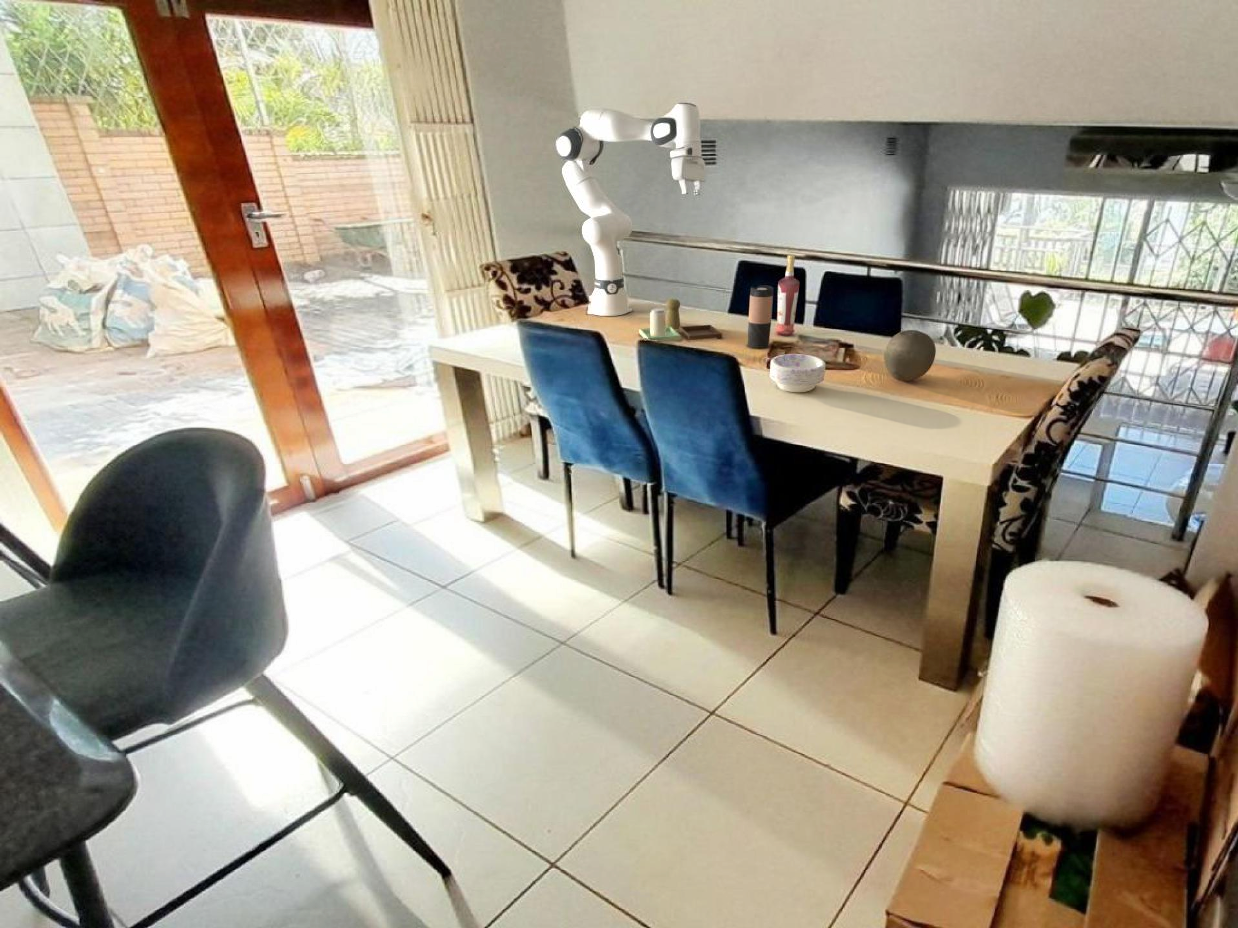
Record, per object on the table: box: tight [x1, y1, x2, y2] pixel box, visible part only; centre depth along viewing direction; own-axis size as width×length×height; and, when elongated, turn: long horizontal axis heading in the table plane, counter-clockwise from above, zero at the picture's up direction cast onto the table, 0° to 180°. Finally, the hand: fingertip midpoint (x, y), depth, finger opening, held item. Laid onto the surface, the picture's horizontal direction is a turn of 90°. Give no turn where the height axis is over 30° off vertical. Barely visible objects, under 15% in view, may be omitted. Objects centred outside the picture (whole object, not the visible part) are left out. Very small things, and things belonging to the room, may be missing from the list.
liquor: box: [775, 254, 800, 337], centre depth 250 cm, size 7×7×28 cm
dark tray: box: [678, 324, 723, 341], centre depth 257 cm, size 13×12×2 cm
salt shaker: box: [649, 307, 667, 337], centre depth 252 cm, size 6×6×10 cm
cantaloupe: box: [883, 329, 937, 382], centre depth 203 cm, size 14×14×15 cm
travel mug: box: [747, 285, 774, 350], centre depth 239 cm, size 8×8×20 cm
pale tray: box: [638, 327, 682, 342], centre depth 255 cm, size 13×12×2 cm
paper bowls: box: [769, 353, 827, 393], centre depth 201 cm, size 15×15×8 cm
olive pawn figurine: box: [665, 298, 681, 331], centre depth 265 cm, size 6×6×11 cm
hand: (691, 194), depth 251 cm, fingers open, 8 cm apart
